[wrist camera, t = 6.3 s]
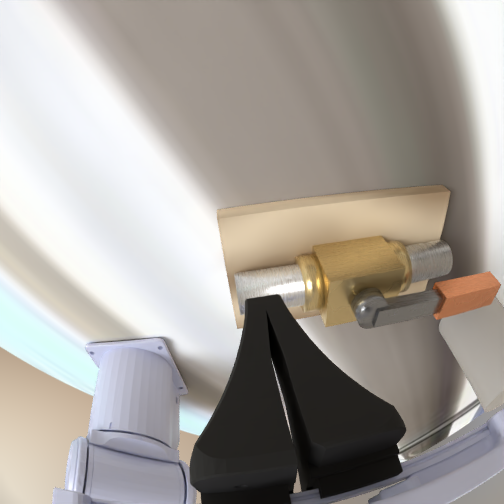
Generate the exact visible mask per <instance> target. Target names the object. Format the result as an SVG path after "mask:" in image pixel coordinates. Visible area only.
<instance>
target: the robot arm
mask: <svg viewBox="0 0 504 504" xmlns="http://www.w3.org/2000/svg"><path fill="white" fill-rule="evenodd" d="M85 350H86V351H87V353H88V354H89V355H90V357H91V358H92V360H93V361H94V362H95V364H96V365H97V367H98V368H99V371H98V376H97V381H96V387H95V392H94V398H93V403H92V410H91V416H90V422H89V430H88V435H87V437H86V438H83V437H81V436H80V437H78V438H77V439H75V440H73V441H72V443H71V446H70V451H69V456H68V462H67V468H66V477H65V489H60V488H56V487H55V488H54V490H53V502H52V504H196V494H197V493H196V492H197V491H196V489H197V490H198V491H199V492H201V503H202V504H330V503H334V502H338V501H341V500H345V499H348V498H352V497H356V496H359V495H362V494H365V493H368V492H371V491H374V490H377V489H380V488H383V487H386V486H389V485H391V484H394V483H397V482H399V481H402V480H404V481H402V482H400V483H398V484H395V485H393V486H391V487H388V488H386V489H384V490H381V491H380V493H379V494H378V495H376V496H374V497H373V498H371V499H369V500H368V503H369V504H449V503H451V502H453V501H454V500H456V499H458V498H459V497H461V496H463V495H465V494H467V493H468V492H470V491H471V490H473V489H475V488H476V487H478V486H480V485H481V484H482V483H484V482H486V481H487V480H489V479H490V478H492V477H493V476H495V475H496V474H498V473H499V472H500V471H502V470H503V469H504V408H503V409H502V410H500V411H498V412H497V413H496V414H494V415H493V416H492V417H491V418H490V419H489V420H488V421H487V422H486V423H485V424H483V425H482V426H480V427H478V428H476V429H474V430H472V431H470V432H468V433H467V434H465V435H463V436H461V437H459V438H457V439H455V440H453V441H451V442H449V443H447V444H445V445H443V446H440V447H438V448H436V449H434V450H432V451H429V452H427V453H425V454H423V455H420V456H418V457H415V458H413V459H410V460H408V461H405V462H403V463H400V461H399V458H398V455H397V454H399V449H398V446H397V443H398V442H399V441H400V439H401V438H402V437H403V436H404V434H405V432H406V427H405V424H404V422H403V420H402V418H401V416H400V415H399V413H398V412H397V410H396V409H395V407H394V406H393V405H391V404H389V403H387V402H385V401H384V400H382V399H380V398H379V397H377V396H376V395H374V394H372V393H371V392H369V391H368V390H367V389H365V388H364V387H362V386H361V385H359V384H358V383H357V382H356V381H354V380H353V379H352V378H350V377H349V376H348V375H347V374H345V373H344V372H343V371H342V370H341V369H339V368H338V367H337V366H336V365H335V364H334V363H333V362H332V361H331V360H330V359H329V358H328V357H327V356H326V355H325V354H324V353H323V352H322V351H321V350H320V349H319V348H318V347H317V346H316V345H315V344H314V343H313V341H312V340H311V339H310V338H309V337H308V336H307V334H306V333H305V332H304V330H303V329H302V328H301V327H300V325H299V324H298V323H297V321H296V320H295V319H294V317H293V316H292V314H291V313H290V311H289V310H288V308H287V306H286V305H285V303H284V301H283V299H282V297H281V296H280V295H279V294H274V295H268V296H262V297H255V298H249V299H246V300H245V318H244V326H243V331H242V337H241V342H240V346H239V349H238V353H237V357H236V360H235V364H234V367H233V370H232V373H231V375H230V378H229V381H228V383H227V386H226V388H225V390H224V393H223V395H222V397H221V399H220V401H219V403H218V405H217V407H216V409H215V411H214V413H213V415H212V417H211V419H210V420H209V422H208V424H207V426H206V427H205V429H204V430H203V432H202V433H201V435H200V437H199V438H198V440H197V441H196V443H195V445H194V449H193V452H192V456H191V461H190V468H189V466H188V465H187V464H186V463H185V462H184V461H182V460H179V450H177V447H178V445H179V439H180V438H179V437H180V434H179V395H185V394H188V389H187V387H186V385H185V383H184V381H183V379H182V377H181V375H180V372H179V370H178V368H177V366H176V364H175V362H174V360H173V358H172V356H171V354H170V352H169V349H168V347H167V345H166V343H165V341H164V340H163V339H162V338H152V339H142V340H131V341H119V342H105V343H91V344H86V346H85ZM271 358H272V359H271ZM272 361H273V364H272ZM273 365H274V368H275V371H276V375H277V378H278V381H279V384H280V388H281V391H282V394H283V397H284V401H285V405H286V410H287V415H288V420H289V425H290V430H291V435H292V438H291V435H290V431H289V427H288V424H287V420H286V416H285V412H284V409H283V405H282V401H281V397H280V393H279V389H278V385H277V381H276V376H275V372H274V368H273ZM292 440H293V442H292ZM297 469H298V473H299V479H300V484H301V491H302V492H299V493H293V489H294V483H295V482H296V475H297Z"/></svg>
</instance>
